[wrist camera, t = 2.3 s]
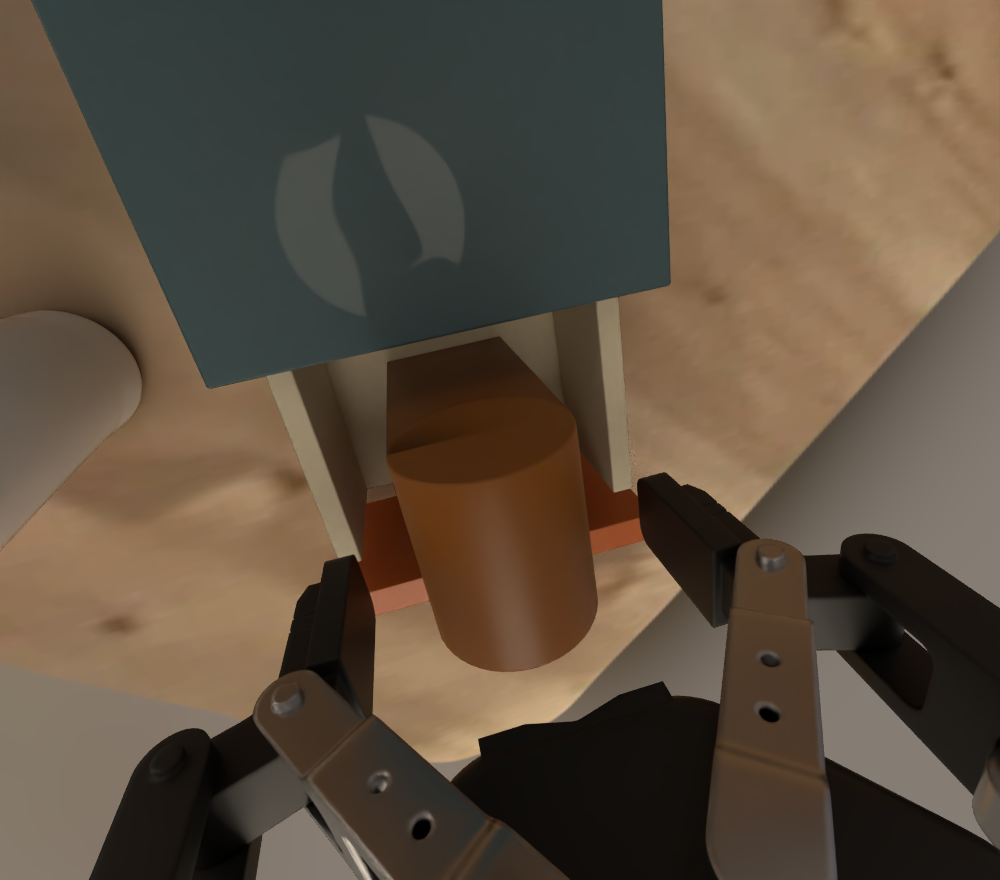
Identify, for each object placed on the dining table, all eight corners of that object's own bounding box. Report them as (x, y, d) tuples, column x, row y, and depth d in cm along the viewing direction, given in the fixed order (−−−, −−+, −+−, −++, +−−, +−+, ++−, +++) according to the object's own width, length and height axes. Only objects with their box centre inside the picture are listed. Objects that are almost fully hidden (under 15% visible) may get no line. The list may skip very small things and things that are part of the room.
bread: (386, 361, 22) (384, 506, 11) (500, 335, 22) (607, 448, 11) (420, 481, 24) (447, 696, 13) (521, 456, 25) (625, 641, 14)
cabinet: (578, 263, 23) (672, 285, 16) (270, 329, 22) (206, 390, 14) (532, -182, 17) (649, -508, 9) (96, -132, 16) (-186, -470, 8)
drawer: (601, 531, 29) (659, 615, 23) (377, 593, 27) (374, 701, 21) (563, 186, 21) (635, 173, 15) (249, 248, 20) (188, 262, 14)
